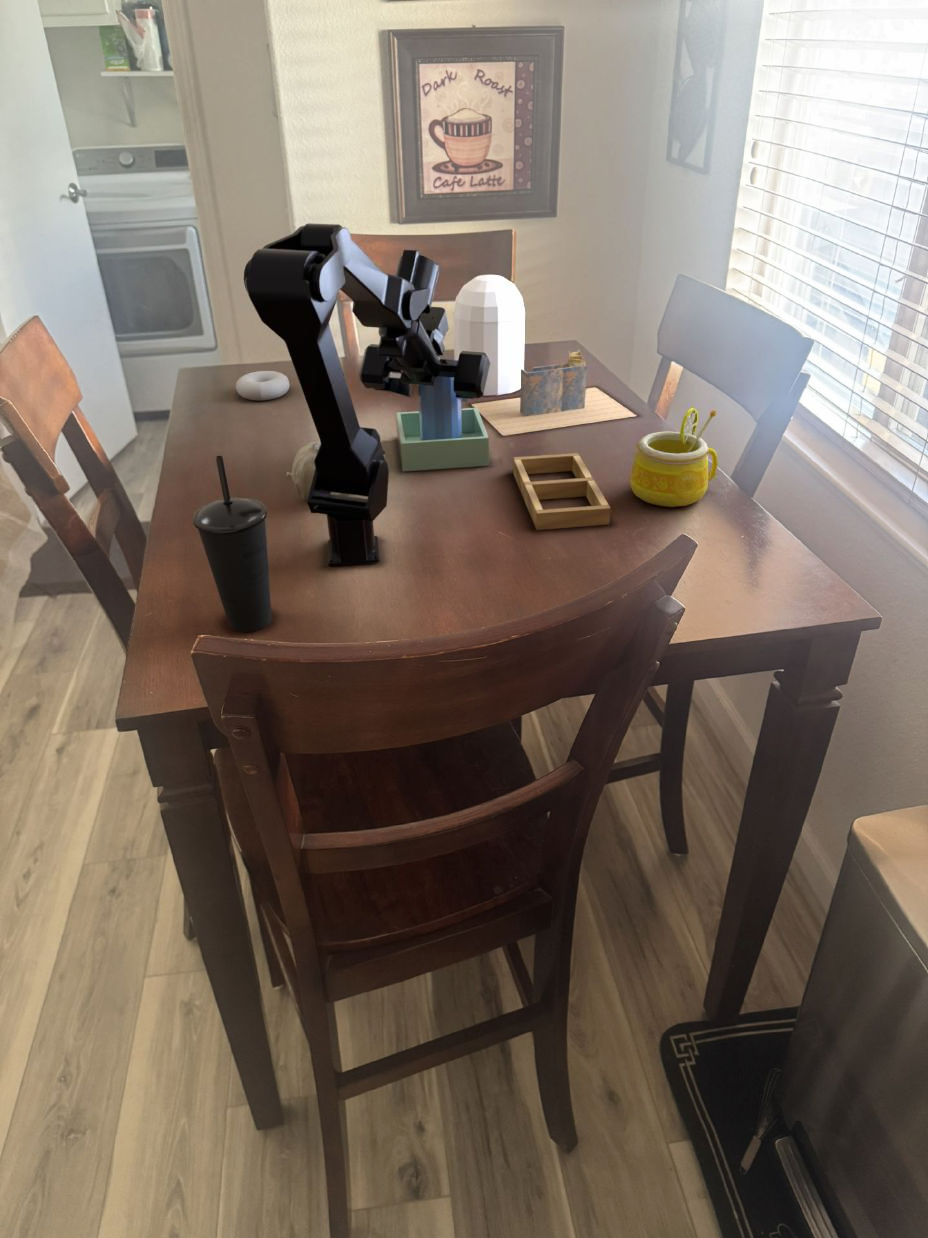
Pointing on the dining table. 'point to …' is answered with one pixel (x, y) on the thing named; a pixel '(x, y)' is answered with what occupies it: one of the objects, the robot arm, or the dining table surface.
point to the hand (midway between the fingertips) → (438, 396)
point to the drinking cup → (237, 556)
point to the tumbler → (439, 410)
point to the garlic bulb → (305, 469)
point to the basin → (442, 444)
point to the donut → (262, 385)
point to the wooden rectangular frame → (560, 491)
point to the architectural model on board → (552, 401)
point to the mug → (673, 466)
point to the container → (492, 329)
